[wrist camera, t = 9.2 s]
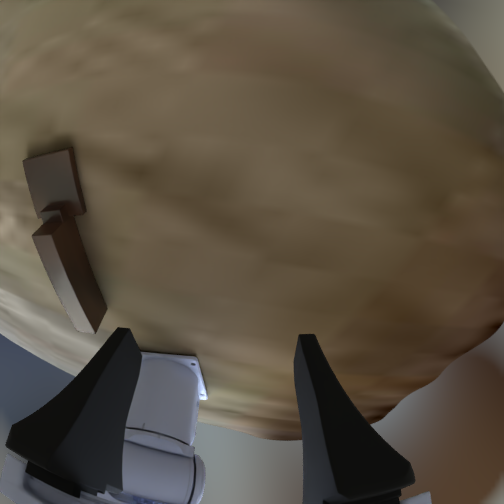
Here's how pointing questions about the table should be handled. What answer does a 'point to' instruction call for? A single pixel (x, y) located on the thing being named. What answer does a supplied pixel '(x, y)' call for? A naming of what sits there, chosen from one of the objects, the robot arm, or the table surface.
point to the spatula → (64, 236)
